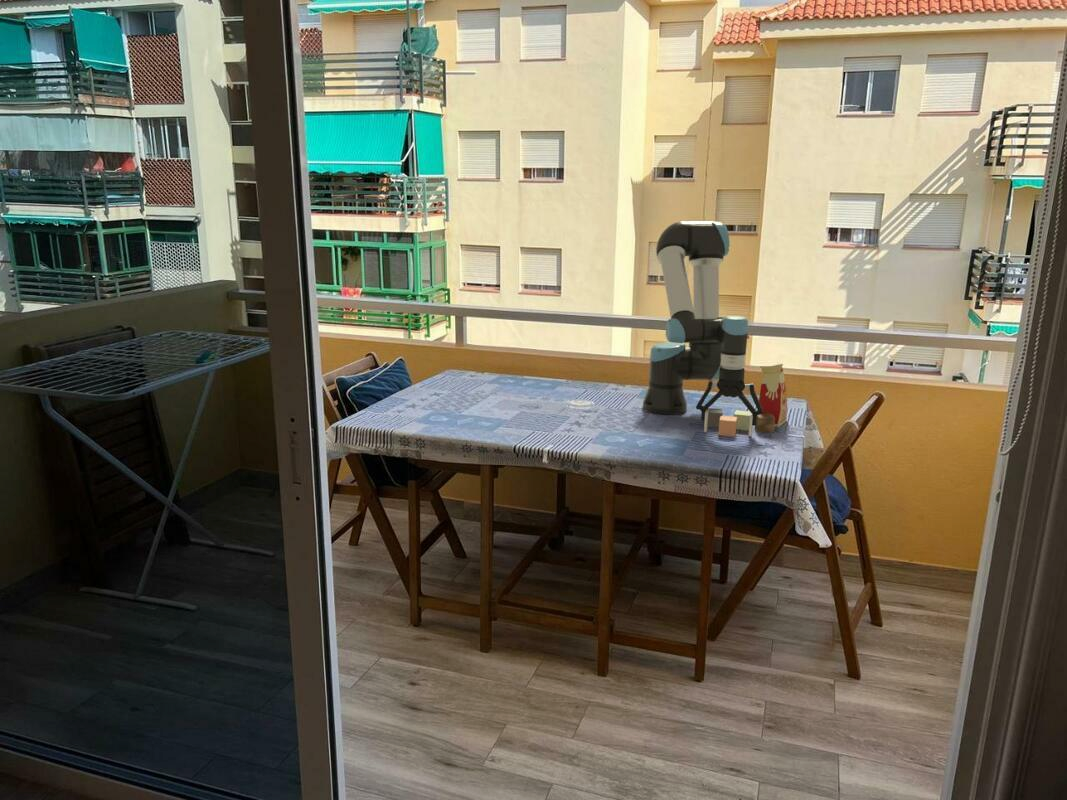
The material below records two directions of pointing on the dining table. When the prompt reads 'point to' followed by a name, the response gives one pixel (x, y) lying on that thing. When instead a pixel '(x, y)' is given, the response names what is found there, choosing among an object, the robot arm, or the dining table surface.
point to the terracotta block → (727, 425)
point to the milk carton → (773, 393)
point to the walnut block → (765, 423)
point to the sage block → (742, 419)
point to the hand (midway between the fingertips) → (727, 433)
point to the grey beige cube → (714, 417)
